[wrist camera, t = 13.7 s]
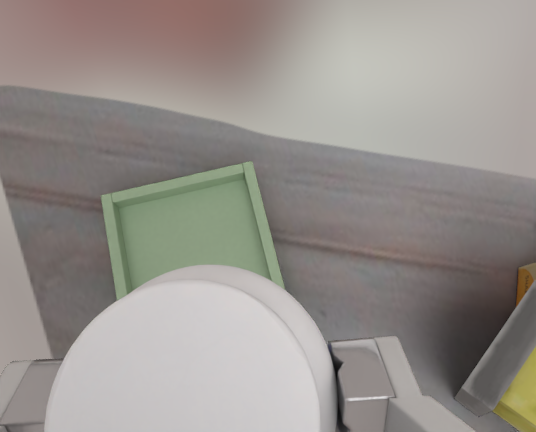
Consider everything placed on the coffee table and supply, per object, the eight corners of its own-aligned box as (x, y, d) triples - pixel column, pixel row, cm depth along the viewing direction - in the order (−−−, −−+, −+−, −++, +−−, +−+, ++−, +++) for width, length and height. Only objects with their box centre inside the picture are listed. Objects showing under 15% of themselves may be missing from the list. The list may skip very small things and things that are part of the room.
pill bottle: (122, 388, 16) (-104, 460, 6) (220, 265, 17) (155, 167, 7) (245, 495, 15) (201, 772, 5) (340, 357, 16) (442, 381, 6)
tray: (134, 352, 32) (124, 353, 30) (110, 204, 35) (100, 195, 33) (289, 313, 33) (290, 311, 31) (252, 171, 36) (251, 160, 34)
